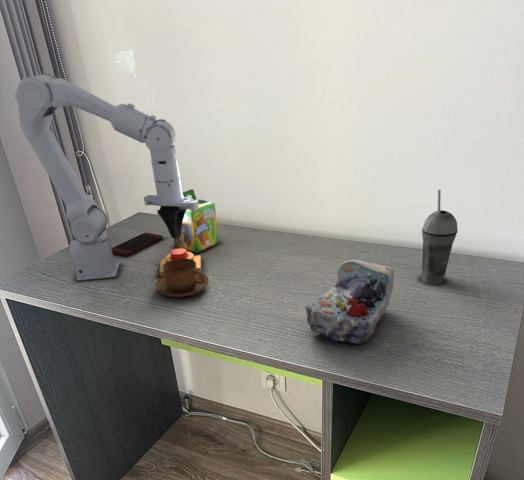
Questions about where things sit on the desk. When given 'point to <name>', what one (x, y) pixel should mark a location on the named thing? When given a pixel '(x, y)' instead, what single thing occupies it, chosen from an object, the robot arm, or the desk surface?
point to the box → (189, 256)
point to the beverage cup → (437, 244)
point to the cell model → (352, 302)
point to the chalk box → (198, 227)
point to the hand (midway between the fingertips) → (176, 236)
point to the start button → (178, 254)
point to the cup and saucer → (181, 279)
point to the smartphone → (136, 244)
